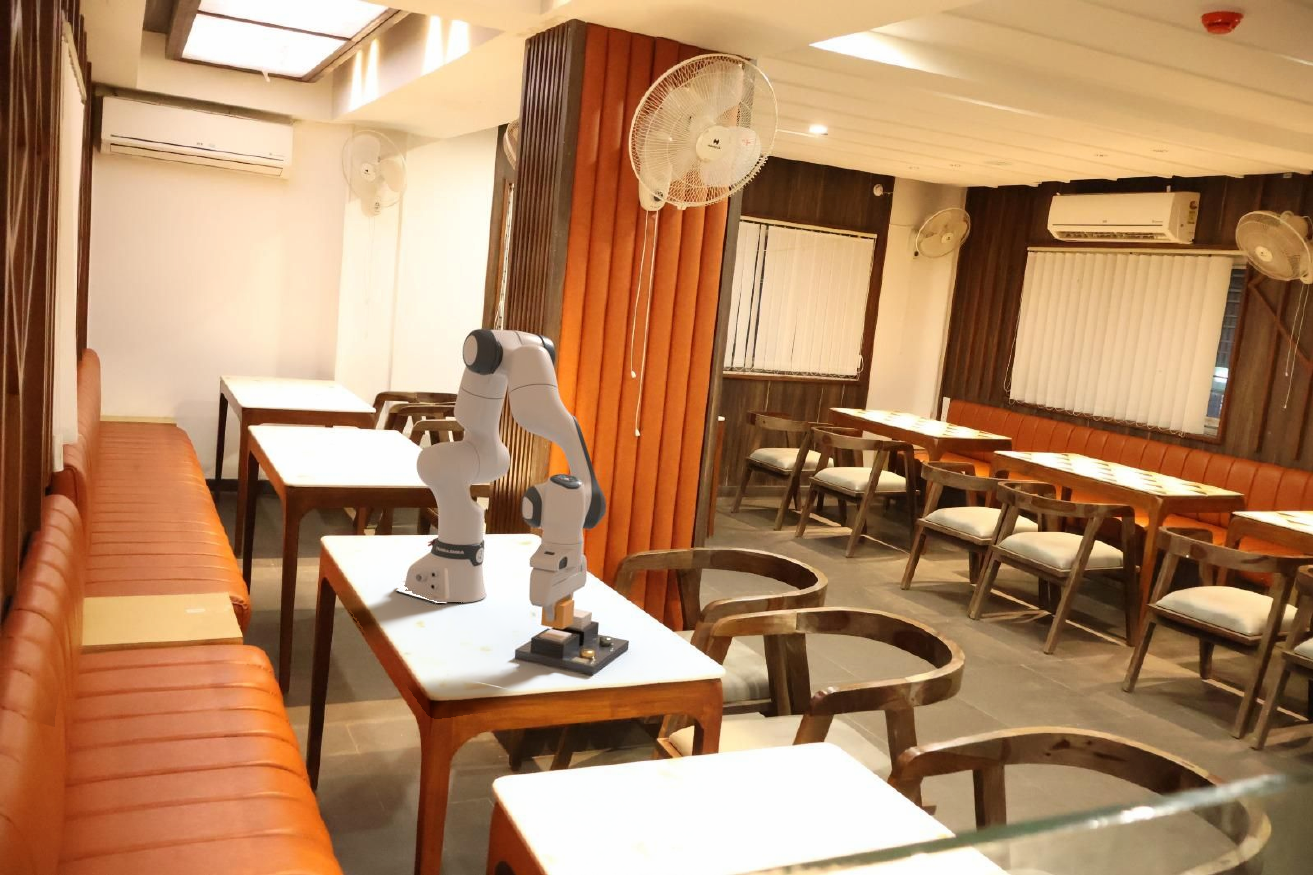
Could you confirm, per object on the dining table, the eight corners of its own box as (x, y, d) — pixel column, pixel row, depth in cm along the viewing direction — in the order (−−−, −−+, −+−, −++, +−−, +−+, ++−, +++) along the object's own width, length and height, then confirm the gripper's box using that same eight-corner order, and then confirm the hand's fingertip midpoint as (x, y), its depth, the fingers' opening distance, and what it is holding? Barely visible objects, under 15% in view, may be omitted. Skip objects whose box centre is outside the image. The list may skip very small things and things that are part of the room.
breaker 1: (538, 649, 224) (539, 635, 223) (549, 642, 228) (550, 629, 228) (560, 653, 222) (561, 639, 222) (570, 647, 227) (571, 633, 226)
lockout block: (541, 625, 223) (542, 602, 222) (551, 619, 228) (553, 596, 227) (562, 629, 221) (564, 606, 221) (572, 623, 226) (574, 600, 225)
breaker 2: (560, 627, 233) (561, 613, 232) (570, 621, 237) (571, 608, 237) (581, 631, 231) (582, 617, 231) (590, 625, 236) (591, 612, 235)
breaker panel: (514, 658, 224) (516, 636, 223) (555, 634, 242) (556, 613, 241) (592, 675, 218) (594, 652, 217) (628, 649, 235) (629, 627, 235)
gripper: (569, 541, 233) (565, 602, 235) (525, 560, 214) (521, 626, 216) (595, 545, 231) (591, 607, 233) (553, 565, 212) (549, 632, 214)
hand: (557, 616), depth 224 cm, fingers closed on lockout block, 5 cm apart
